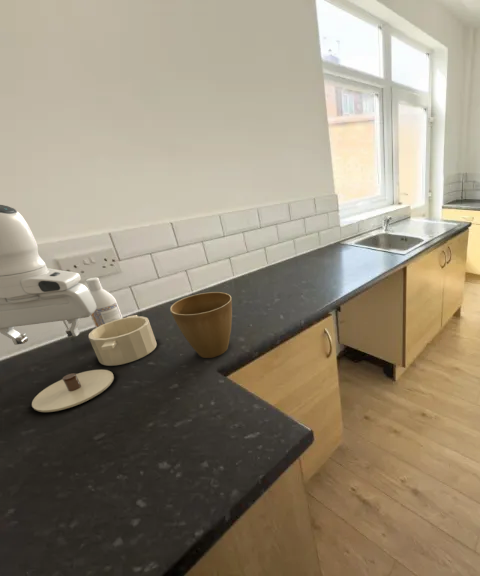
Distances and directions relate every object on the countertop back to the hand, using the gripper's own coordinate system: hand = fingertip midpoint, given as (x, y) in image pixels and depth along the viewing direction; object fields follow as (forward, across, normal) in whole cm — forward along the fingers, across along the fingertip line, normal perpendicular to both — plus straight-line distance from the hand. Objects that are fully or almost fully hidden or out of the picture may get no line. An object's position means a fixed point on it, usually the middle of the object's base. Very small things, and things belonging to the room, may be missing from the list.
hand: (48, 339), depth 72 cm
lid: (+14, +1, 0) cm, 14 cm away
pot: (+15, +7, +16) cm, 23 cm away
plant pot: (+15, +31, +7) cm, 35 cm away
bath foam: (+15, -1, +29) cm, 33 cm away
